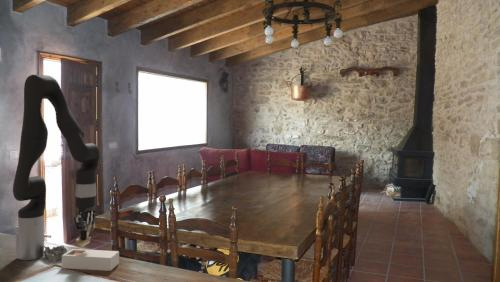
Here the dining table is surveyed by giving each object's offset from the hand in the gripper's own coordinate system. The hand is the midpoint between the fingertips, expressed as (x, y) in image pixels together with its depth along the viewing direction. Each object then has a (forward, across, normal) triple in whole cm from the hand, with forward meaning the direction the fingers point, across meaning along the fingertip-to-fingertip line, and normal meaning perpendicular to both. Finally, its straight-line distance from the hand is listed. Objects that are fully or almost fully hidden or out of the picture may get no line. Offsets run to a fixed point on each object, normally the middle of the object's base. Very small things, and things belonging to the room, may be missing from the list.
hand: (85, 238), depth 149 cm
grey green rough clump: (+11, -7, -16) cm, 21 cm away
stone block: (+9, 0, -1) cm, 9 cm away
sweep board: (+11, 0, +2) cm, 11 cm away
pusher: (+2, 0, -1) cm, 3 cm away
